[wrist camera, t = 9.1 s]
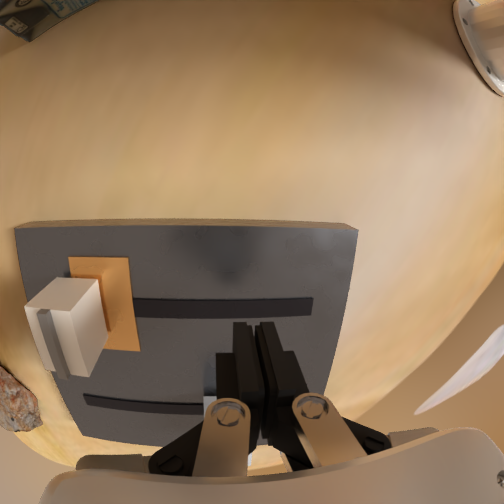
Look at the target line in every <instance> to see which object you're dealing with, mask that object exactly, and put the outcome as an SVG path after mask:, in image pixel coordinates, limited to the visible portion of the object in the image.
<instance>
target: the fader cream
mask: <svg viewBox="0 0 504 504" xmlns="http://www.w3.org/2000/svg"><path fill="white" fill-rule="evenodd" d="M24 308H25V312H26V316H27V319H28V322H29V325H30V329H31V332H32V335H33V338H34V341H35V343H36V346H37V349H38V352H39V354H40V357H41V360H42V362H43V365H44V367H45V370H50V371H55V372H56V373H57V375H58V378H59V379H64V380H68V379H69V377H70V375H77V376H83V377H90V375H91V373H92V371H93V368H94V366H95V364H96V362H97V360H98V358H99V356H100V353H101V351H102V349H103V347H104V345H105V343H106V341H107V339H108V333H107V328H106V324H105V319H104V314H103V308H102V303H101V297H100V291H99V284H98V279H84V278H62V277H56V278H55V279H54V280H53V281H52V282H51V283H49V284H48V285H47V286H46V287H45V288H44V289H43V290H41V291H40V292H39V293H38V294H37V295H36V296H35V297H34V298H33V299H31V300H30V301H29V302H28V303H27V304H26V305H25V306H24Z"/></svg>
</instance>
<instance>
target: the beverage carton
mask: <svg viewBox="0 0 504 504" xmlns="http://www.w3.org/2000/svg"><path fill="white" fill-rule="evenodd" d="M97 1H99V0H0V25H1V26H4V27H5V28H7V29H8V30H10V31H11V32H12V33H13V34H14V35H16V36H18V37H21V38H23V39H24V40H26V41H28V42H31V41H32V40H33V39H35V38H36V37H38V36H39V35H41V34H42V33H43V32H45V31H46V30H48V29H49V28H51V27H52V26H54V25H56V24H57V23H59V22H60V21H62V20H64V19H65V18H67V17H69V16H71V15H73V14H74V13H76V12H78V11H80V10H82V9H84V8H86V7H88V6H90V5H91V4H93V3H95V2H97Z"/></svg>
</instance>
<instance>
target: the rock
mask: <svg viewBox="0 0 504 504" xmlns="http://www.w3.org/2000/svg"><path fill="white" fill-rule="evenodd" d="M42 424H43V422H42V420H41V419H40V414H39V412H38V404H37V399H36V397H35V396H34V395H33V394H32V392H31V391H29V390H27V389H25V388H24V387H23V386H22V385H21V384H20V383H19V382H18V381H16V380H15V378H14V377H12V376H11V374H8V373H7V372H6V371H5V369H3V368H2V367H0V425H1V426H2V427H3V428H5V429H6V430H9V431H14V432H17V431H19V432H20V431H26V432H28V431H31V430H33V429H34V428H36V427H38V426H41V425H42Z"/></svg>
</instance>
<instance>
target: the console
mask: <svg viewBox="0 0 504 504" xmlns="http://www.w3.org/2000/svg"><path fill="white" fill-rule="evenodd" d="M14 229H15V237H16V245H17V252H18V258H19V264H20V269H21V274H22V279H23V284H24V288H25V292H26V297H27V301H28V302H29V301H30V300H31V299H33V298H34V297H35V296H36V295H37V294H38V293H39V292H40V291H41V290H43V289H44V288H45V287H46V286H47V285H48V284H49V283H51V282H52V281H53V280H54V279H55V278H56V277H62V278H84V279H98V284H99V291H100V297H101V303H102V308H103V314H104V319H105V324H106V328H107V333H108V339H107V341H106V343H105V345H104V347H103V349H102V351H101V353H100V356H99V358H98V360H97V362H96V364H95V366H94V368H93V371H92V373H91V375H90V377H83V376H77V375H70V377H69V379H68V380H64V379H59V378H58V375H57V373H56V372H55V371H51V373H52V375H53V377H54V380H55V382H56V384H57V387H58V389H59V391H60V393H61V395H62V397H63V399H64V401H65V403H66V405H67V407H68V409H69V411H70V413H71V415H72V417H73V419H74V421H75V423H76V424H77V426H78V428H79V430H80V431H81V433H82V435H83V436H88V437H93V438H98V439H104V440H109V441H116V442H122V443H130V444H138V445H148V446H160V447H165V446H166V445H168V444H169V443H171V442H172V441H174V440H175V439H177V438H178V437H180V436H181V435H183V434H184V433H186V432H187V431H189V430H190V429H192V428H193V427H195V426H196V425H198V424H199V423H200V422H202V421H203V420H204V399H203V396H216V353H232V344H233V322H247V325H252V329H253V334H254V333H255V325H260V322H271V321H273V322H274V324H275V327H276V330H277V333H278V336H279V339H280V342H281V345H282V348H283V351H292V350H293V351H294V353H295V355H296V358H297V360H298V363H299V366H300V368H301V371H302V373H303V376H304V379H305V381H306V384H307V387H308V389H309V392H310V393H318V394H321V395H324V391H325V388H326V384H327V381H328V377H329V374H330V370H331V366H332V363H333V359H334V355H335V351H336V347H337V343H338V339H339V334H340V330H341V326H342V321H343V317H344V312H345V307H346V302H347V297H348V292H349V287H350V281H351V275H352V270H353V264H354V257H355V251H356V244H357V237H358V230H357V229H355V228H353V227H351V226H349V225H347V224H344V223H326V222H304V221H277V220H241V219H99V220H65V221H41V222H29V223H26V224H24V225H21V226H19V227H16V228H14ZM267 444H268V442H267V439H262V436H261V430H260V433H259V439H258V440H257V445H267ZM257 445H256V446H257Z"/></svg>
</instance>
